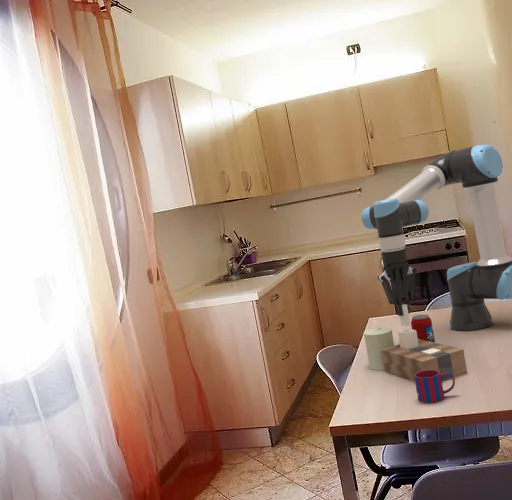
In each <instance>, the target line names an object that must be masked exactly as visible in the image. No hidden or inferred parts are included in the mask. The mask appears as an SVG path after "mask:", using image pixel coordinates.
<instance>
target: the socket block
mask: <svg viewBox="0 0 512 500" xmlns="http://www.w3.org/2000/svg"><path fill="white" fill-rule="evenodd" d="M418 345H419V347H415V348H412V349H409V350H407V349H403V348H400V343H399V344H394V346H391V347H388V348H385V349H381V355H382V361H383V367H384V370H383V371H384V373H388V374H390V375H391V374H392V375H393V376H397V377H400V378H403V379H405V380H408V381H411V382H414V383H415V378H414V374H415V373H417V372H419V371H423V370H437V371H440V374H443V373H451V374H452V375H453V376H454V378H455V377H456V378H457V377H458V376H459V377H460V376H463V375H465V374H467V373H468V370H467V365H466V364H467V363H466V358H465V357H466V356H465V352H464V349H463V348H461V347H460V348H459V347H455V346H450V345H447V344H443V343H437V342H435V343H434V342H429V341H425V340H421V339H418ZM432 348H434V349H438V350H441V352H440V353H437V354H434V355H430V356H429V355H426V354H422V351H425V350H428V349H432ZM450 379H452V377H451V376H450V375H445V376H443V377H442V382H444V381H446V380H450Z"/></svg>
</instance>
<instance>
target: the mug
mask: <svg viewBox="0 0 512 500" xmlns="http://www.w3.org/2000/svg"><path fill="white" fill-rule="evenodd" d="M445 375H450V376H451V377H452V378H451V379H452V385H451V386H450V387H449V388H447V389H446V390H444V387H443V381H442V377H443V376H445ZM414 378H415V382H414V384H415V390H416V395H417V401H419V403H422V404H423V403H424V404H433V403H438V401H439V402H441V401H442V399H443V400H444V399H445V394H447V393H449V392H451V391H452V390H453V389H454V387H455V386H456V385H455V384H456V379H455V377H454V376H453V375H452V374H451V373H443V374H440V371H437V370H423V371H419V372H417V373H415V374H414Z"/></svg>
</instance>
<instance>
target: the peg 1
mask: <svg viewBox="0 0 512 500" xmlns="http://www.w3.org/2000/svg"><path fill="white" fill-rule="evenodd" d="M397 336H398V340H399V341H398V342H399V344H400V348H403V349H407V350H409V349H412V348H415V347H419V345H418V338H417V332H416V330H413V329H412V328H406V329H402V330H398V331H397Z"/></svg>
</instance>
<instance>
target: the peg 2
mask: <svg viewBox="0 0 512 500" xmlns="http://www.w3.org/2000/svg"><path fill="white" fill-rule="evenodd" d="M440 352H441V350H438V349H434V348H432V349H428V350H425V351H422V354H426V355H429V356H430V355H434V354H437V353H440Z"/></svg>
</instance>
